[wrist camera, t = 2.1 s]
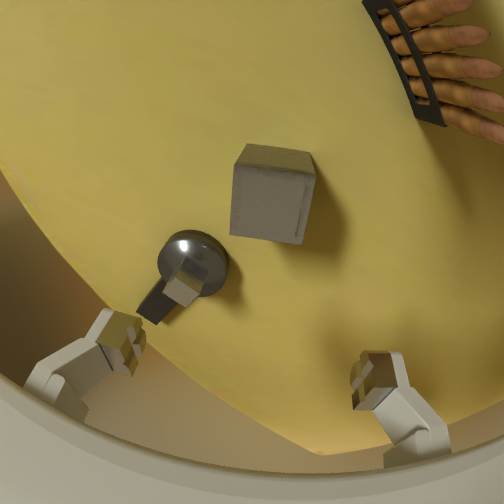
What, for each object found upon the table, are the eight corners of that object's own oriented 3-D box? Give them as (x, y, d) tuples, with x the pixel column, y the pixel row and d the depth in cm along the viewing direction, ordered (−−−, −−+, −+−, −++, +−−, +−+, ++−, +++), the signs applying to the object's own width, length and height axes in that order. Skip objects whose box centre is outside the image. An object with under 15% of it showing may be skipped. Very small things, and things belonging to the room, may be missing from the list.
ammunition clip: (432, 112, 17) (529, 157, 7) (415, 118, 18) (508, 165, 8) (380, -3, 12) (454, -53, 2) (360, 1, 13) (425, -55, 3)
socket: (247, 143, 21) (234, 165, 16) (309, 152, 21) (316, 176, 16) (242, 198, 24) (229, 234, 19) (299, 207, 24) (301, 245, 19)
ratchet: (185, 216, 26) (165, 247, 22) (242, 258, 28) (234, 295, 24) (128, 296, 34) (111, 325, 29) (171, 324, 36) (159, 355, 31)
